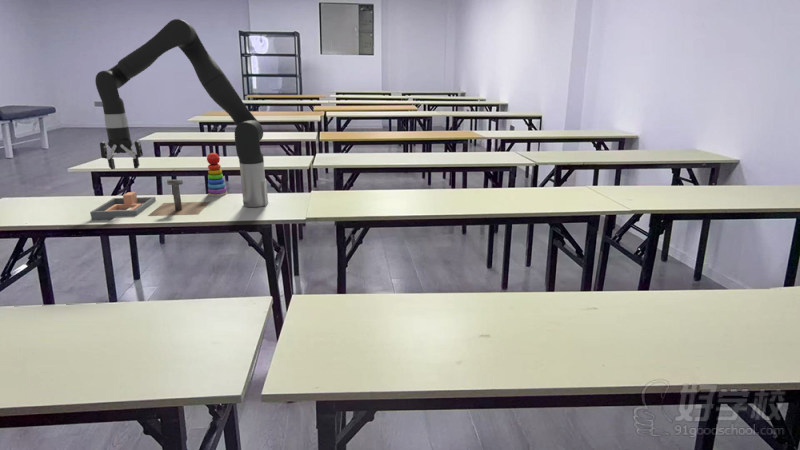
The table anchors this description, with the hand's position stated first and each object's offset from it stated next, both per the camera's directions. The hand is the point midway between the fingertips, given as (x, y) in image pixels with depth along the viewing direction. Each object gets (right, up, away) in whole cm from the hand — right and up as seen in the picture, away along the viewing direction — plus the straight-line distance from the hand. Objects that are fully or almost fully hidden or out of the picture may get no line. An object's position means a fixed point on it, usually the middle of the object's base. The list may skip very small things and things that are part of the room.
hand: (124, 168), depth 199 cm
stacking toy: (+28, -10, +22) cm, 37 cm away
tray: (+1, -17, 0) cm, 17 cm away
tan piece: (0, -16, 0) cm, 16 cm away
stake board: (+22, -16, 0) cm, 27 cm away
